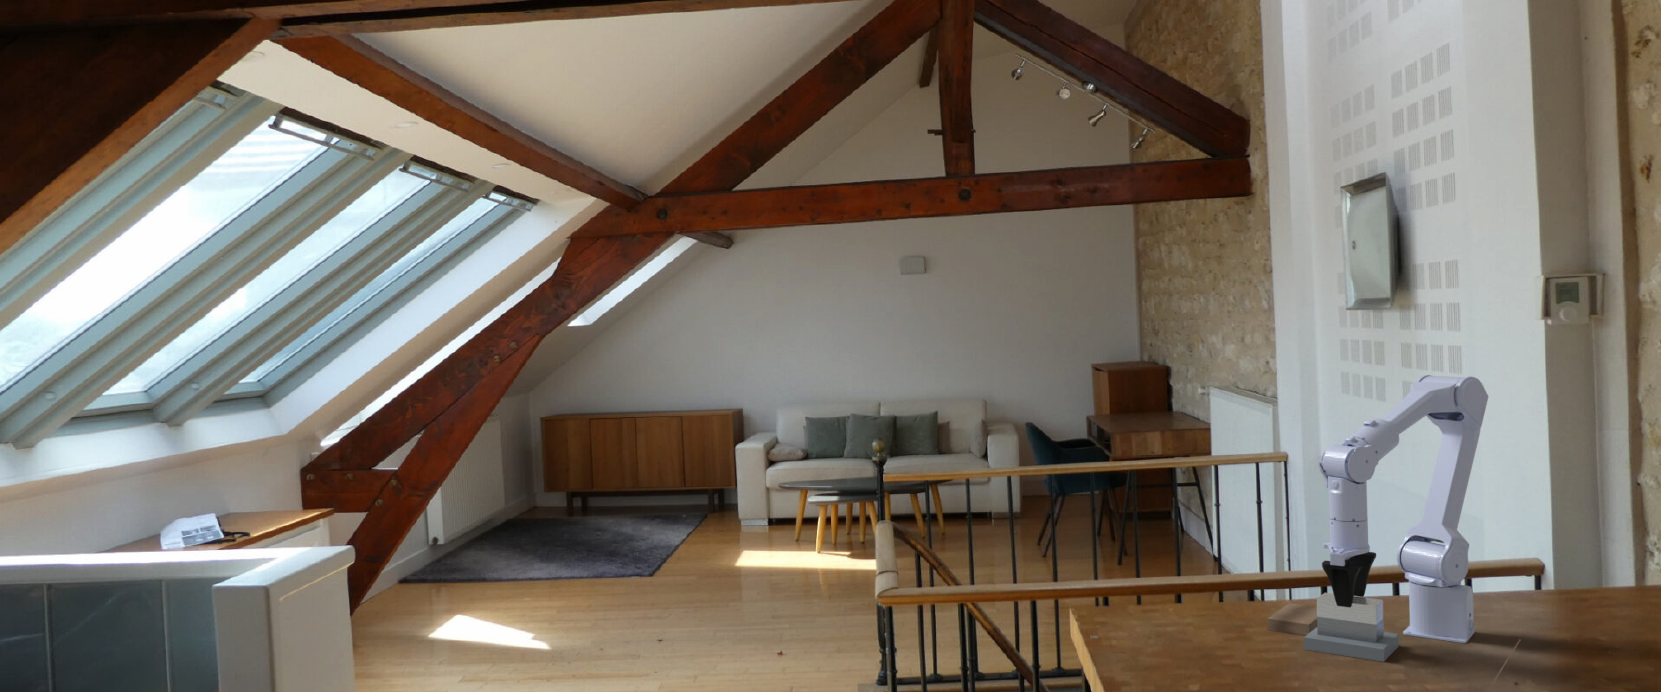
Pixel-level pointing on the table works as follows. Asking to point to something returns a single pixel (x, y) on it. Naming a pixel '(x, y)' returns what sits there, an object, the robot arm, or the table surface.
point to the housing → (1350, 618)
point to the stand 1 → (1294, 619)
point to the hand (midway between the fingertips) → (1350, 600)
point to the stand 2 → (1353, 646)
